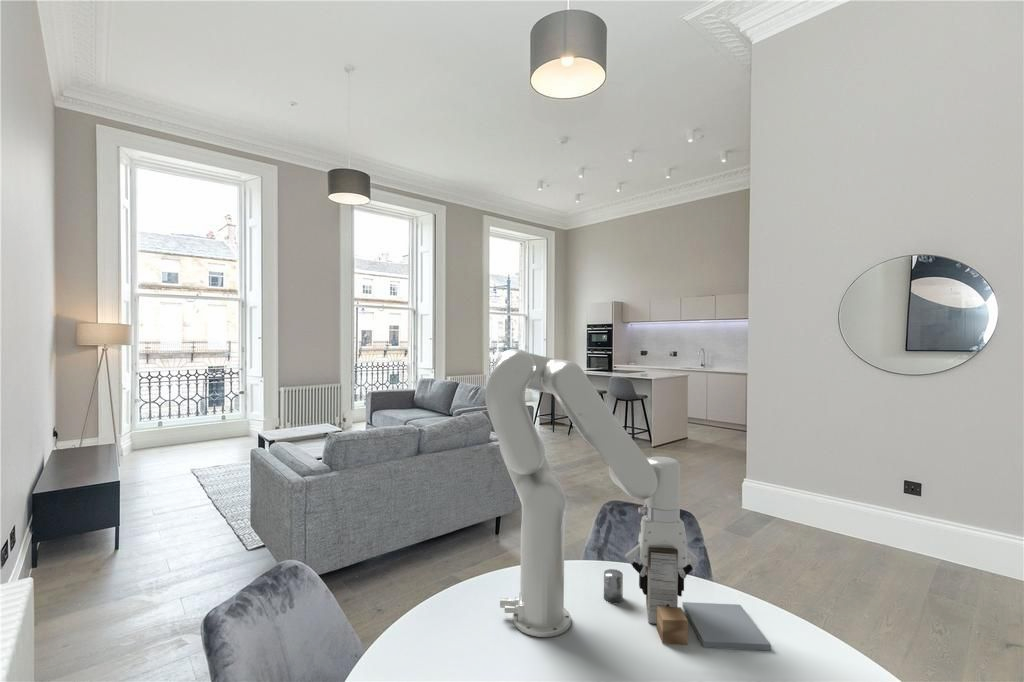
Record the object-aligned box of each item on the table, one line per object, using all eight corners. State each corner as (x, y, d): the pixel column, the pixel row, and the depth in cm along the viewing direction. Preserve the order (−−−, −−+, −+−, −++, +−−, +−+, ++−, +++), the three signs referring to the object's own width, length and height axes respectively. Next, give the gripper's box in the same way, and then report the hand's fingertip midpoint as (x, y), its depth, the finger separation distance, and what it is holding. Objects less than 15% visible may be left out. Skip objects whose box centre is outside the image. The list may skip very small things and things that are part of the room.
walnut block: (662, 644, 98) (662, 619, 98) (656, 629, 103) (656, 606, 103) (687, 645, 98) (687, 620, 98) (680, 631, 103) (680, 607, 103)
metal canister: (606, 603, 113) (605, 578, 113) (602, 593, 118) (602, 569, 118) (624, 603, 113) (624, 578, 113) (620, 593, 118) (620, 569, 118)
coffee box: (644, 602, 114) (645, 533, 114) (673, 605, 113) (674, 536, 113) (647, 623, 105) (648, 549, 105) (678, 627, 104) (679, 552, 104)
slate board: (703, 647, 97) (703, 641, 97) (682, 607, 112) (682, 602, 112) (770, 650, 96) (770, 644, 96) (740, 609, 111) (740, 604, 111)
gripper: (625, 517, 106) (624, 599, 106) (707, 520, 105) (706, 603, 105) (620, 506, 114) (619, 582, 113) (696, 509, 112) (695, 586, 112)
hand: (661, 591), depth 109 cm, fingers closed on coffee box, 6 cm apart
